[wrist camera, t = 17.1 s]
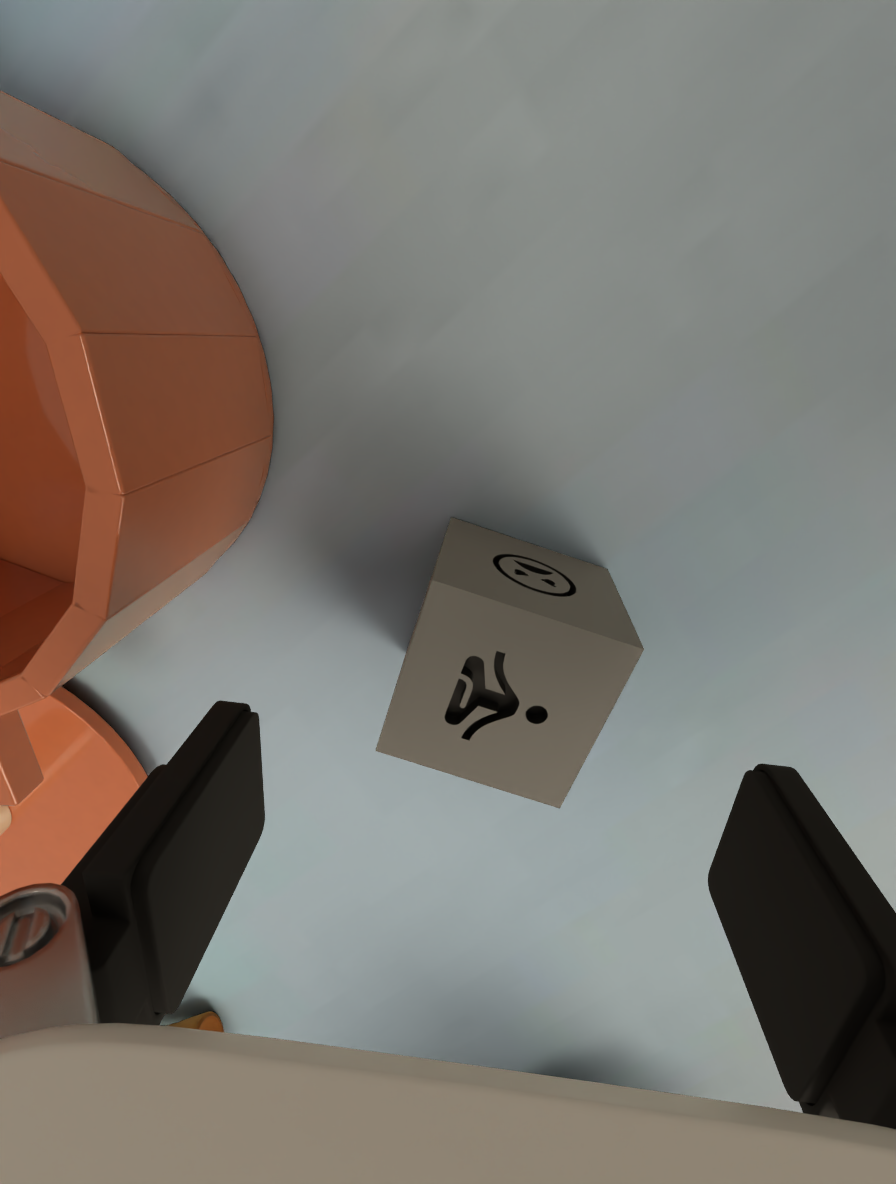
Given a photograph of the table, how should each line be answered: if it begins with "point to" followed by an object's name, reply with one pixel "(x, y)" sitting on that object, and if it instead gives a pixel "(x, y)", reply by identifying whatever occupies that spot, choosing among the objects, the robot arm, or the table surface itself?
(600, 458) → the table surface
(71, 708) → the lid
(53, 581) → the pot
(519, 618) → the dice cube
